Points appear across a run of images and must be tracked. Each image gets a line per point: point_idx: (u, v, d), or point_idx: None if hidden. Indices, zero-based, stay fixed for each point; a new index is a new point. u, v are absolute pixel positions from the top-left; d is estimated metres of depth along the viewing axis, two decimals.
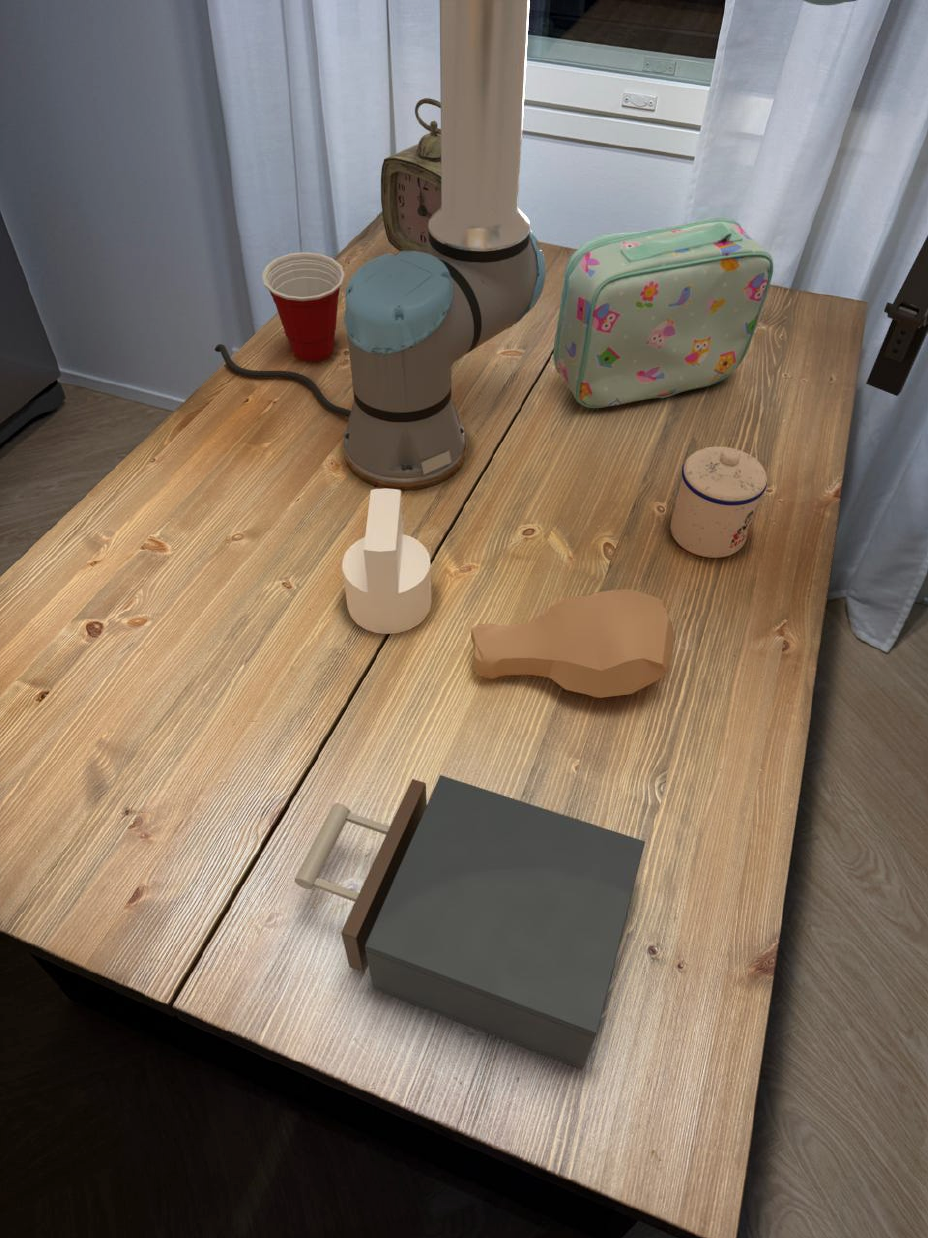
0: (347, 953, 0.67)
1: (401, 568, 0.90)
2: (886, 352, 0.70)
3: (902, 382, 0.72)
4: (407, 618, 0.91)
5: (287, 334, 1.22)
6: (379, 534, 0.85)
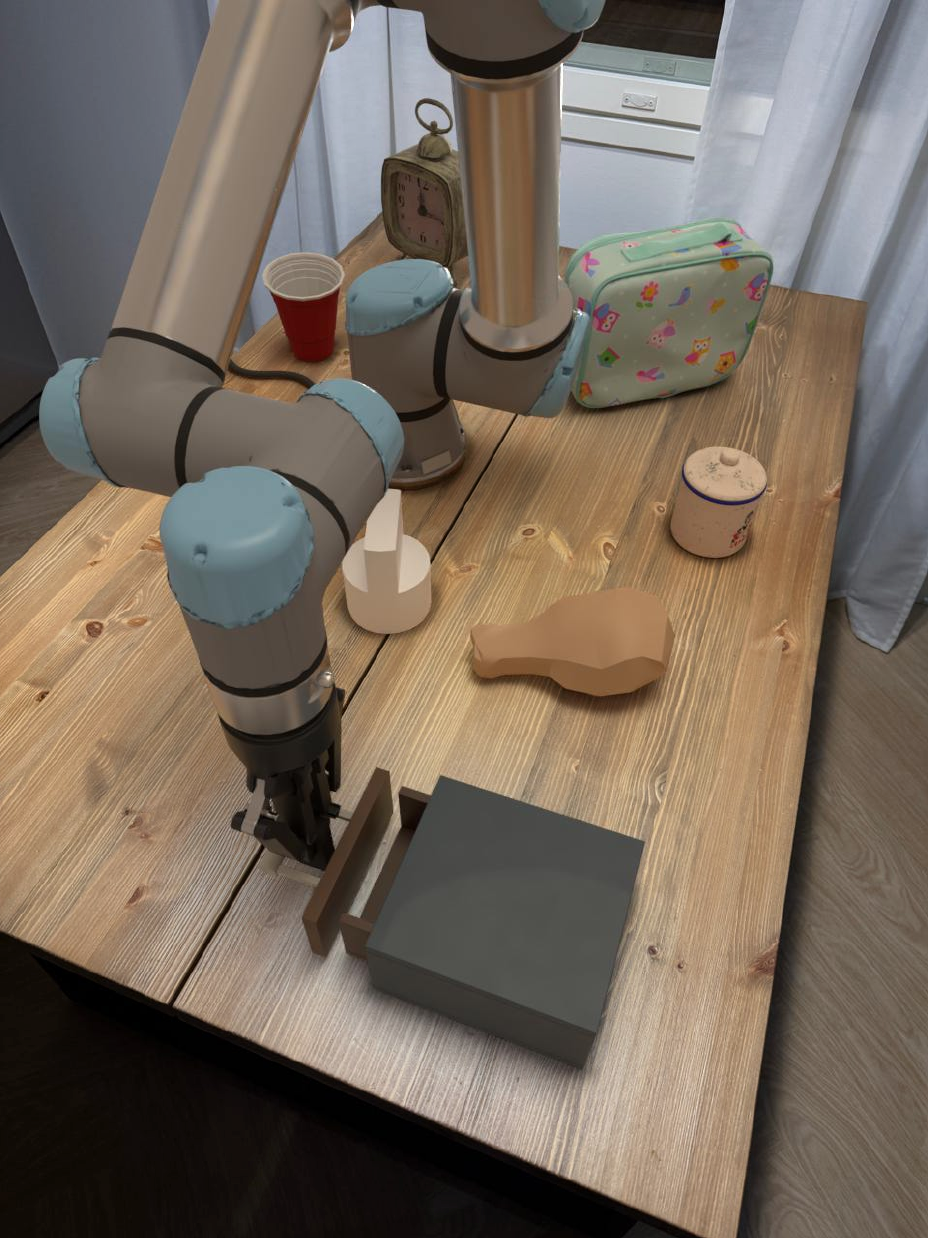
0: (309, 938, 0.67)
1: (401, 568, 0.90)
2: None
3: (326, 866, 0.72)
4: (407, 618, 0.91)
5: (287, 334, 1.22)
6: (379, 534, 0.85)
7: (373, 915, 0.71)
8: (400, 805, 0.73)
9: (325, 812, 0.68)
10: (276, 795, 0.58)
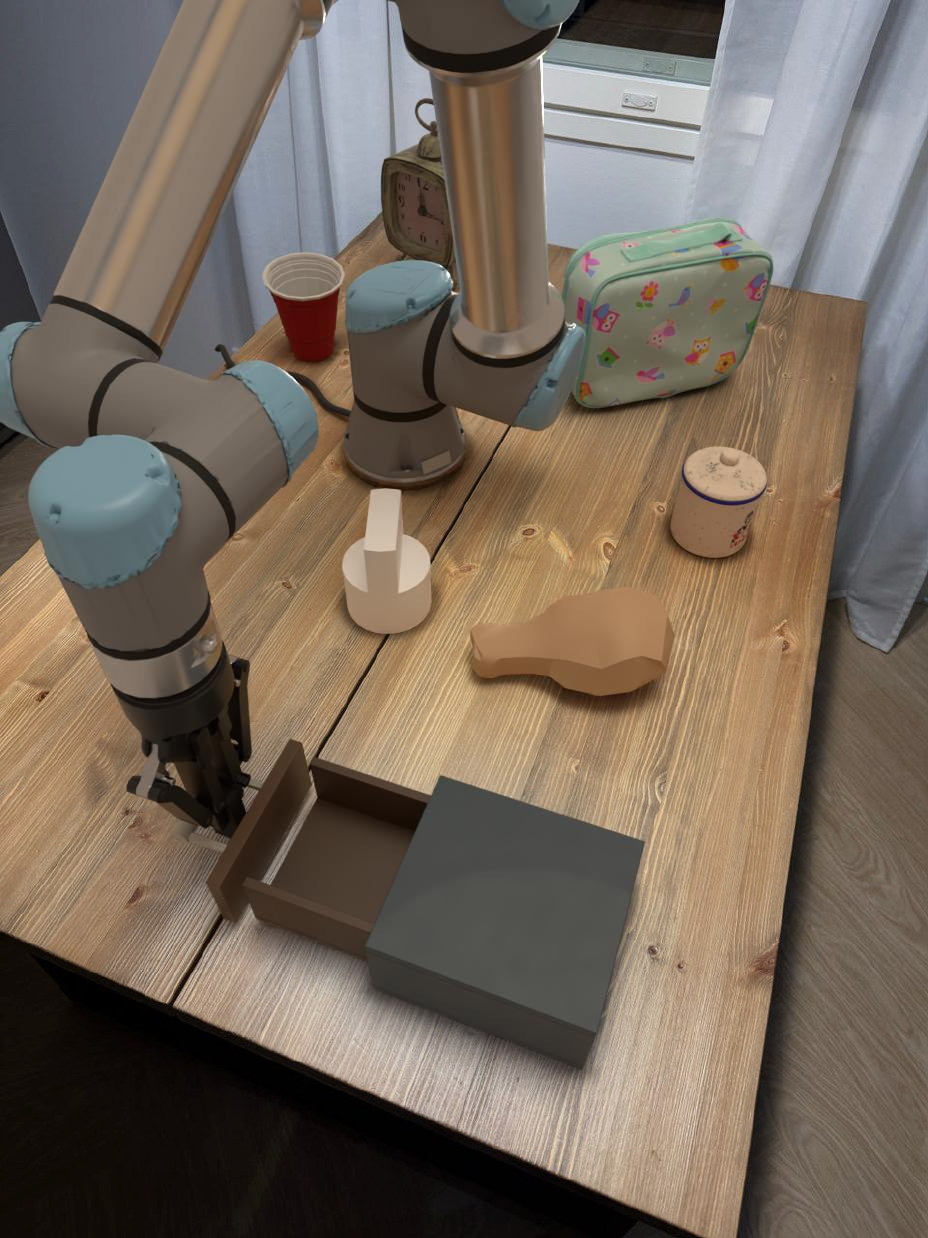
0: (217, 904, 0.69)
1: (401, 568, 0.90)
2: None
3: None
4: (407, 618, 0.91)
5: (287, 334, 1.22)
6: (379, 534, 0.85)
7: (283, 882, 0.72)
8: (313, 776, 0.75)
9: (234, 781, 0.70)
10: (171, 759, 0.60)
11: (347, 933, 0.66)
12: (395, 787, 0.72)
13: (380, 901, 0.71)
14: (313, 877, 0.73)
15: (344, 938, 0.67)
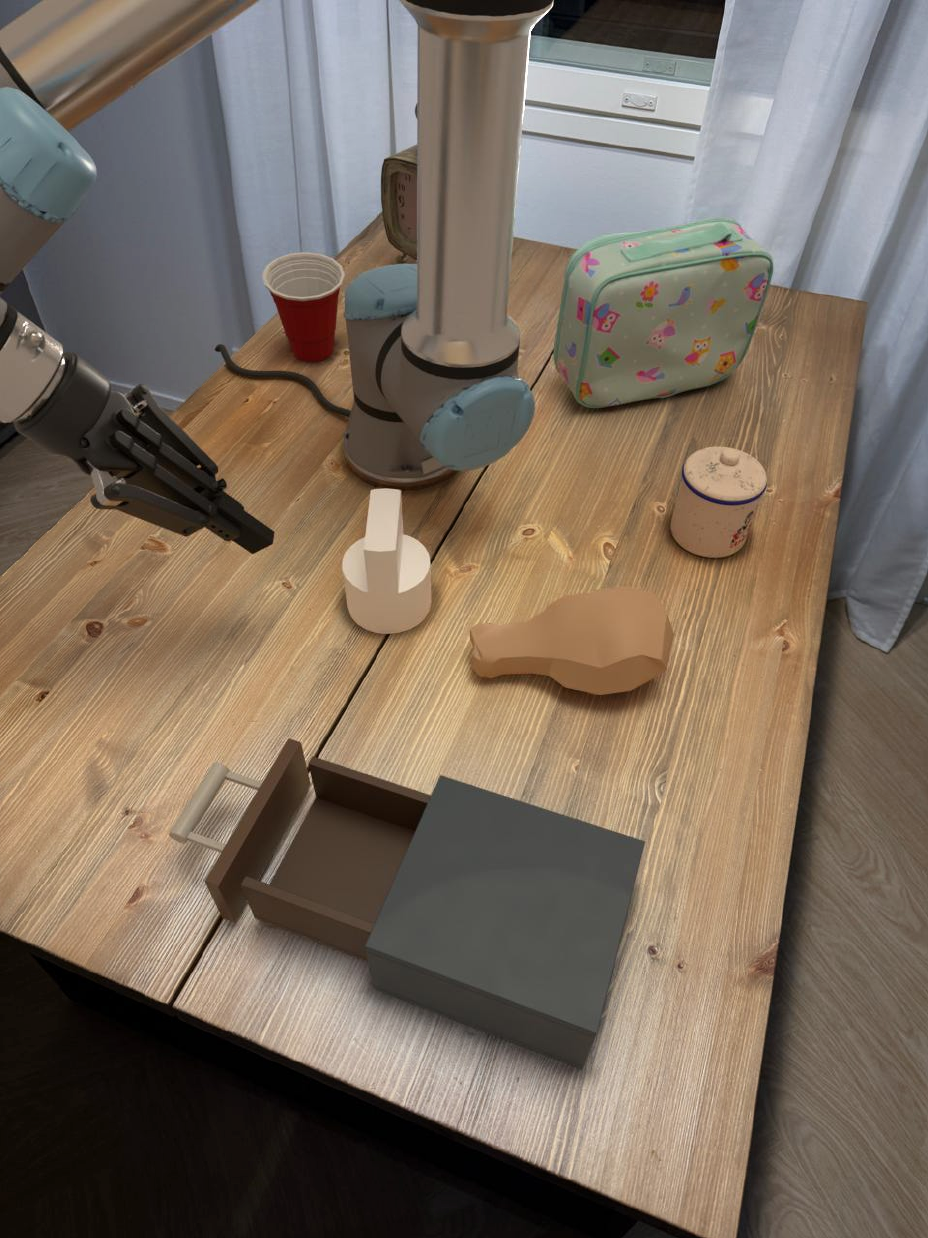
0: (216, 903, 0.69)
1: (401, 568, 0.90)
2: (226, 540, 0.81)
3: (262, 537, 0.83)
4: (407, 618, 0.91)
5: (287, 334, 1.22)
6: (379, 534, 0.85)
7: (282, 881, 0.72)
8: (311, 776, 0.75)
9: (212, 488, 0.79)
10: (105, 463, 0.70)
11: (346, 932, 0.66)
12: (393, 787, 0.72)
13: (379, 901, 0.71)
14: (312, 877, 0.73)
15: (343, 938, 0.67)
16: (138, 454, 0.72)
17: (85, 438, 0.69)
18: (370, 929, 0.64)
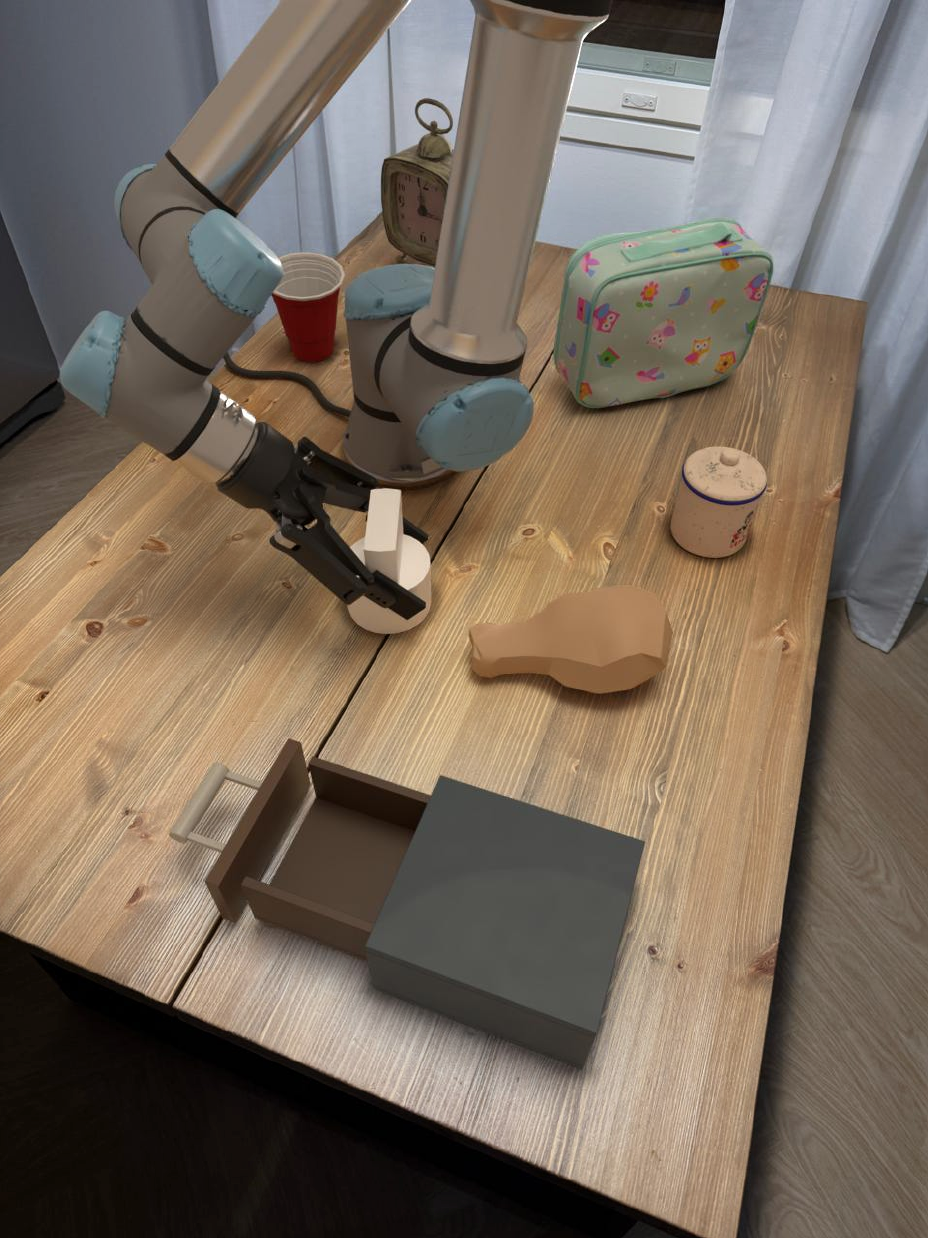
0: (216, 903, 0.69)
1: (401, 568, 0.90)
2: (383, 607, 0.86)
3: (416, 602, 0.88)
4: None
5: (287, 334, 1.22)
6: (379, 534, 0.85)
7: (282, 881, 0.72)
8: (311, 776, 0.75)
9: None
10: (293, 511, 0.80)
11: (346, 932, 0.66)
12: (393, 787, 0.72)
13: (379, 901, 0.71)
14: (312, 877, 0.73)
15: (343, 938, 0.67)
16: (315, 507, 0.82)
17: (280, 488, 0.81)
18: (370, 929, 0.64)
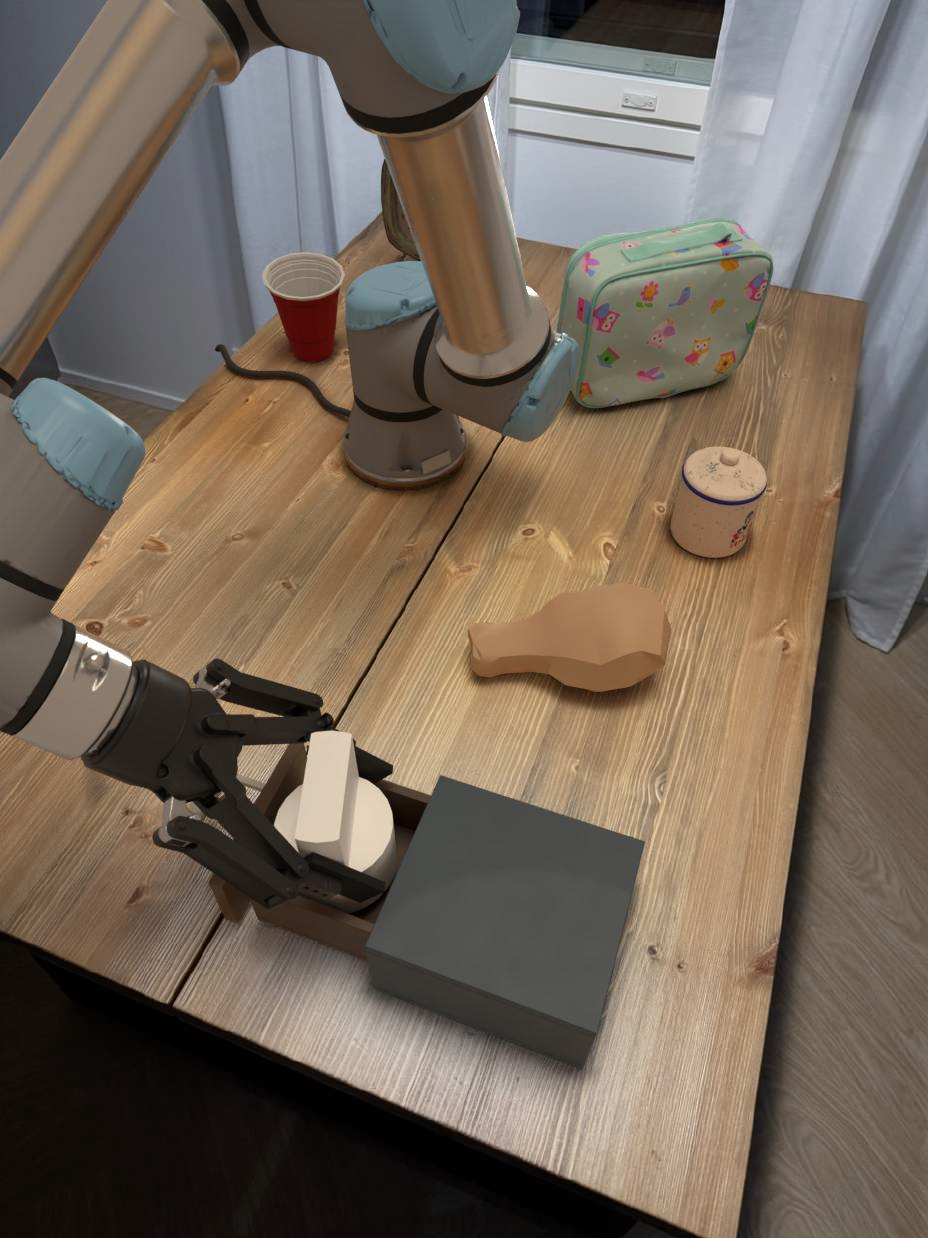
0: (219, 904, 0.69)
1: (353, 835, 0.67)
2: None
3: (370, 886, 0.63)
4: None
5: (287, 334, 1.22)
6: (318, 811, 0.61)
7: None
8: None
9: (320, 730, 0.67)
10: (189, 791, 0.56)
11: (349, 933, 0.66)
12: (397, 788, 0.72)
13: (382, 902, 0.71)
14: None
15: (346, 939, 0.67)
16: (223, 778, 0.58)
17: (171, 757, 0.57)
18: None
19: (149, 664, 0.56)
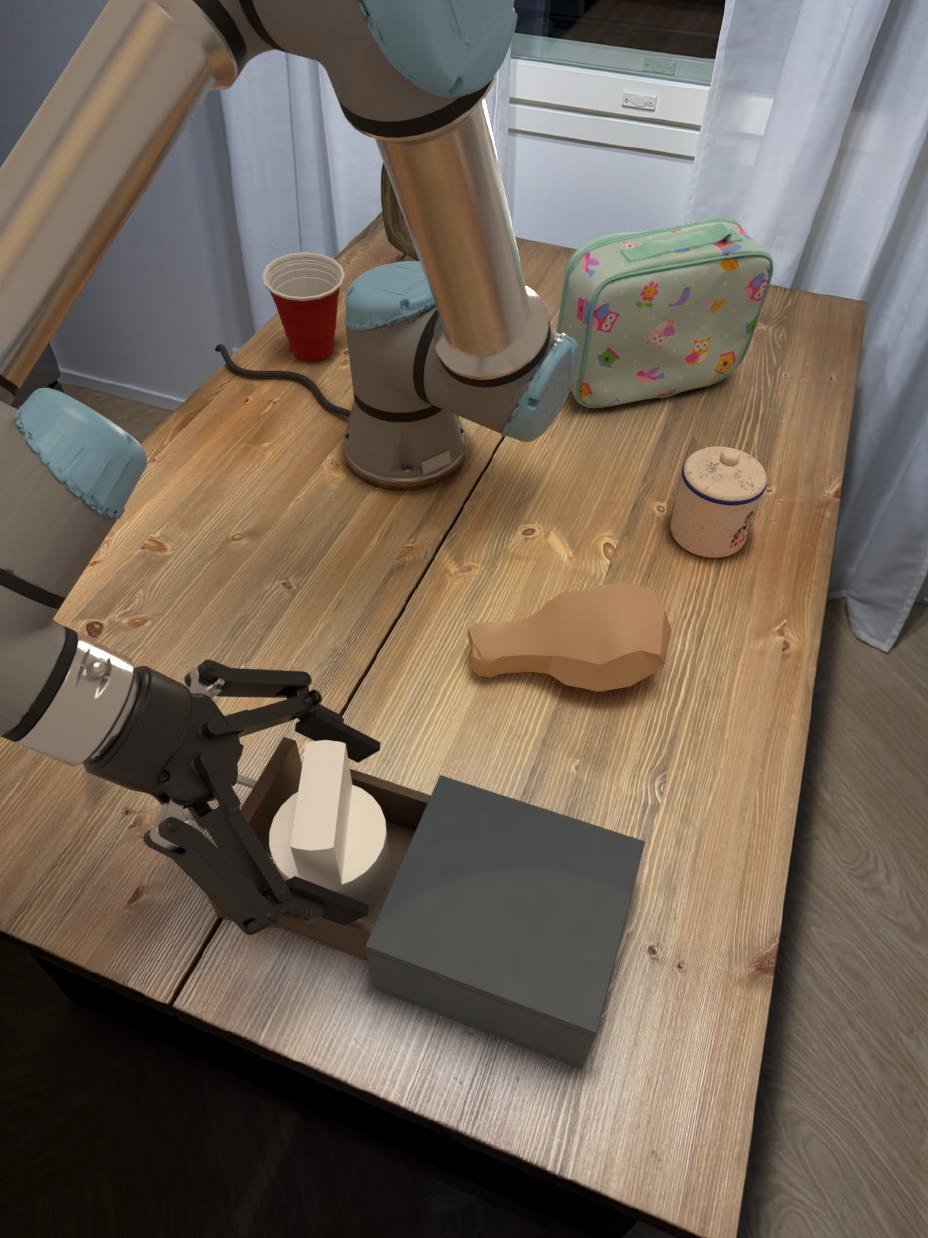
0: (210, 901, 0.69)
1: (347, 842, 0.68)
2: None
3: (353, 909, 0.62)
4: None
5: (287, 334, 1.22)
6: (313, 820, 0.63)
7: None
8: None
9: (310, 707, 0.68)
10: (190, 796, 0.57)
11: (340, 930, 0.66)
12: (388, 785, 0.72)
13: None
14: None
15: (337, 936, 0.67)
16: (219, 786, 0.58)
17: (177, 761, 0.57)
18: (364, 927, 0.64)
19: (150, 670, 0.57)
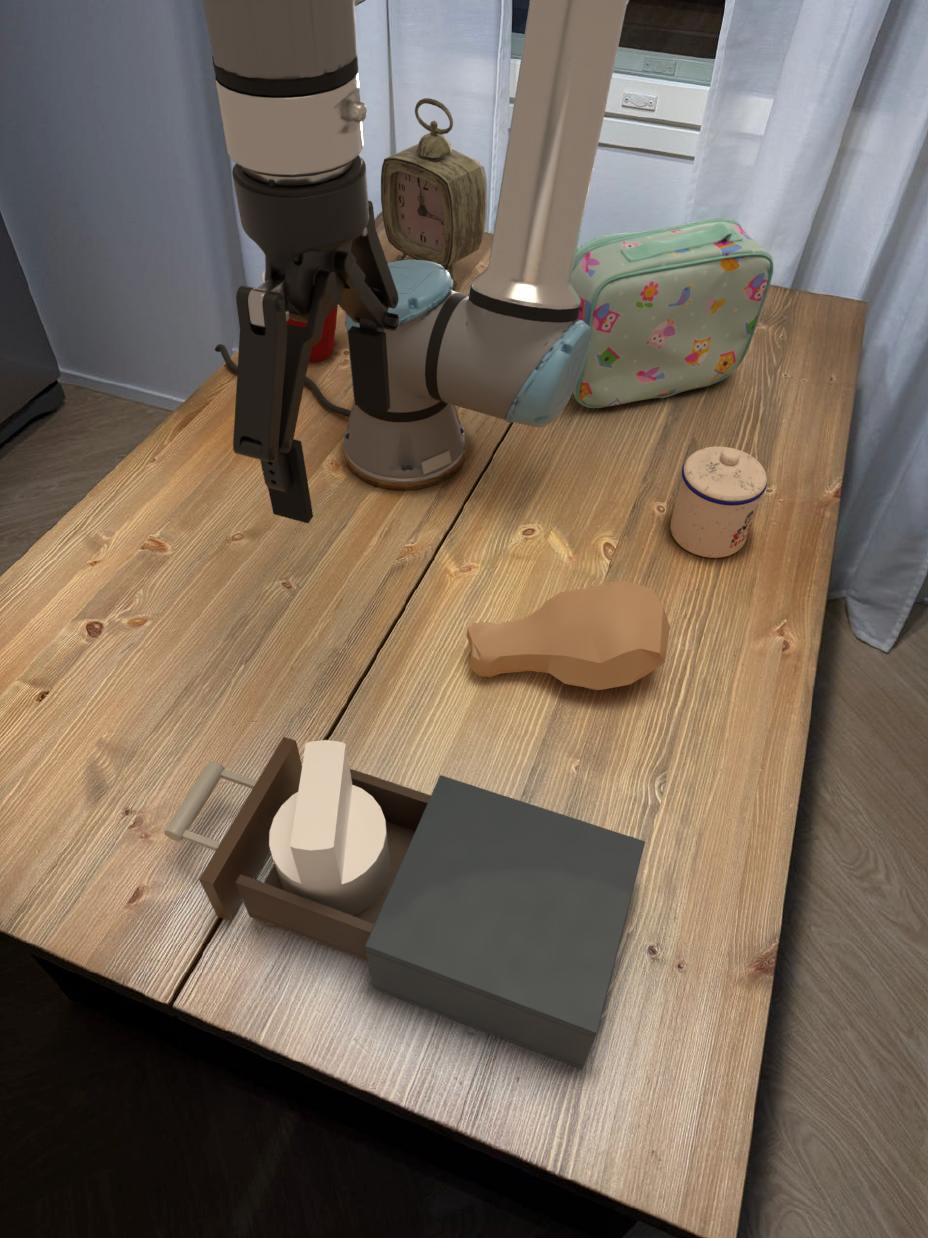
0: (210, 901, 0.69)
1: (347, 842, 0.68)
2: (267, 484, 0.58)
3: (305, 509, 0.60)
4: (356, 904, 0.69)
5: None
6: (313, 820, 0.63)
7: (277, 879, 0.72)
8: None
9: (383, 326, 0.65)
10: (298, 295, 0.52)
11: (340, 930, 0.66)
12: (388, 785, 0.72)
13: None
14: None
15: (337, 936, 0.67)
16: (319, 312, 0.54)
17: (310, 256, 0.52)
18: (364, 927, 0.64)
19: None
